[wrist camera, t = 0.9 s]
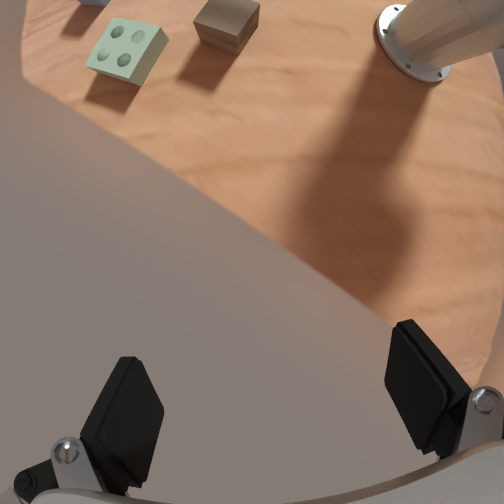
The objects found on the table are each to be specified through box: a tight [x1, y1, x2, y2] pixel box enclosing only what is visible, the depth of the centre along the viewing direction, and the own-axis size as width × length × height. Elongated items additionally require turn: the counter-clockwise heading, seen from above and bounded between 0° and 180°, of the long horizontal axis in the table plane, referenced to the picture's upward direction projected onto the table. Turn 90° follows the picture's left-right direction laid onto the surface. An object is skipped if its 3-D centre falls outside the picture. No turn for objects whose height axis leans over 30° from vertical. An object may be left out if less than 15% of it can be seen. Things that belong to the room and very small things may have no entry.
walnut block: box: [193, 0, 260, 56], centre depth 23 cm, size 5×5×6 cm
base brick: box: [85, 17, 169, 86], centre depth 25 cm, size 7×7×4 cm
